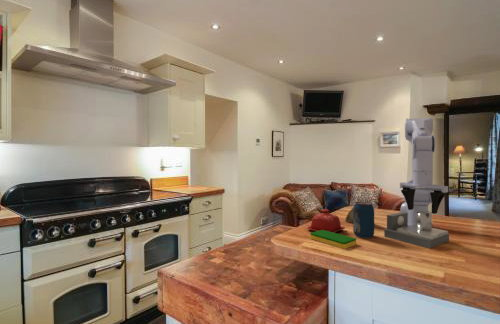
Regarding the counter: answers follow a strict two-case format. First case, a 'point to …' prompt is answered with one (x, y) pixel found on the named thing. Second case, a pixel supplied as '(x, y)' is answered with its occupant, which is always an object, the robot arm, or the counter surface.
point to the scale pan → (422, 232)
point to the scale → (402, 220)
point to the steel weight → (424, 220)
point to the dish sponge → (333, 239)
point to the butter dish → (325, 222)
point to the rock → (351, 215)
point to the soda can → (363, 219)
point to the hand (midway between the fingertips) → (422, 211)
